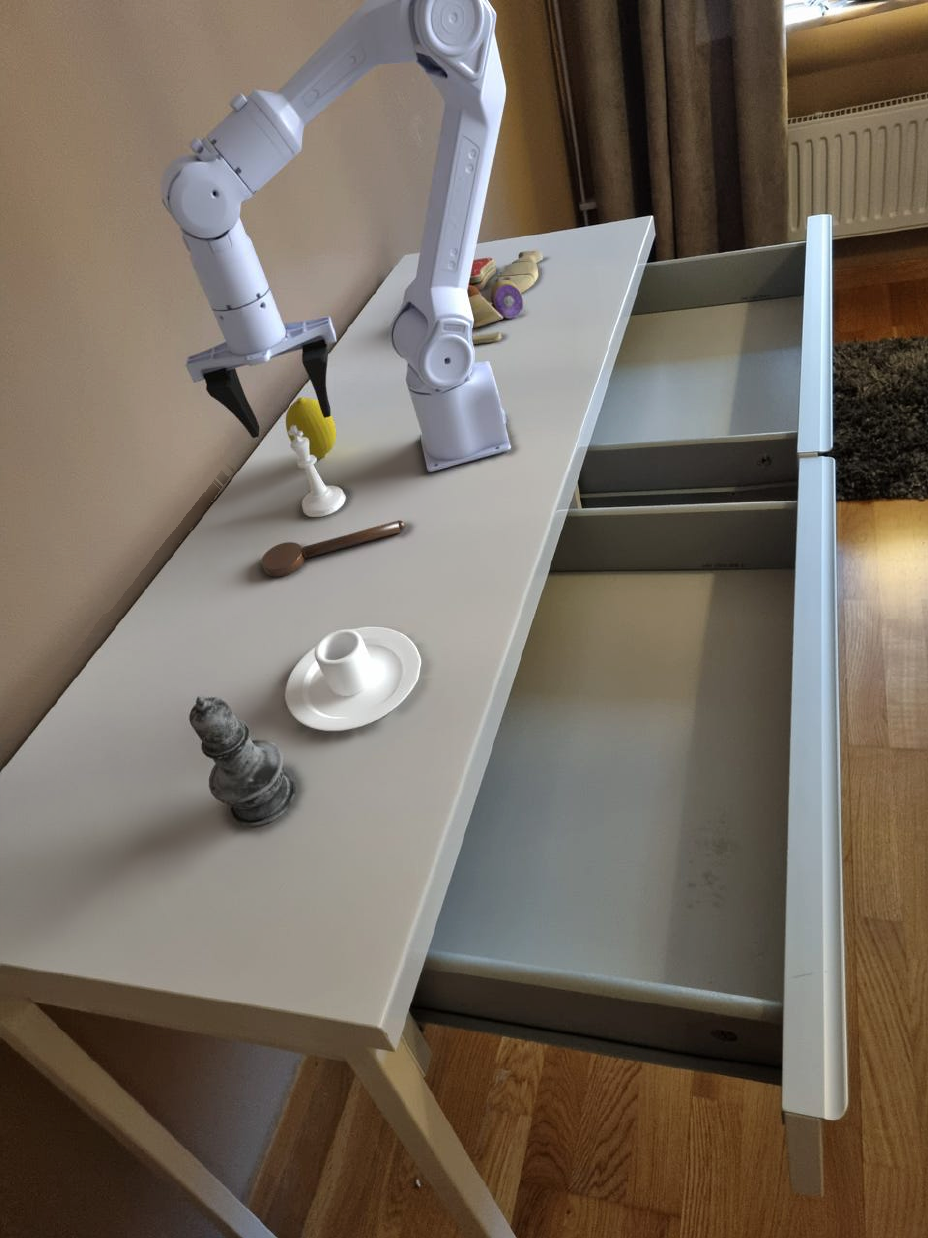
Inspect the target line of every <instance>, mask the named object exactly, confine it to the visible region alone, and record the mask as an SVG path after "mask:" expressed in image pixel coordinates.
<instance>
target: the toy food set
mask: <svg viewBox="0 0 928 1238" xmlns="http://www.w3.org/2000/svg"><path fill="white" fill-rule="evenodd" d="M543 259H544V258H543V253H542V251H540V250H528V251H527V250H526V251H520V252H519V253H518V258H517V259H516V260H514V261H513V262H511V263H510V264H509V265H507V267H505V268H504V269H503V270H502V271H501V272H500V273H499V274H498V276H497V277H496V279H495V282H494V284H493V285H492V286H491V289H490V292H489V299H490V302H489V301H488V300H487V299H486V298H485V297H484V296H483V295H482V294H481V292H480V291H482V290H483V289H485V287H486V284H487V282H489V280H490V279H491V278H492V277H493V276H495V274H496V273H497V268H496V264H495V263H496V262H495V258H494V257H481V258H476V259H473V264H472V269H471V274H470V279H469V284H468V289H467V294H468V298H469V302H470V306H471V310H472V314H473V319H474V322H473V327H472V329H476V328H480V327H483V326H486V325H489V324H492V323H494V322H498V321H501V320H503V319H504V318H506V319H515V318H517V317H518V316H519V315H520V314H521V313H522V311H523V308H524V304H525V303H524V302H525V301H524V297H523V294H522V293H524V292H526V291H527V290H528V289H530V288H531V287H532V286H533V285H534V284H535V283H536V282H537V280H538V278H539V268H538V264H537V263H540V262H541V261H542V260H543ZM501 339H502V333H501V332H498V331H496V332H487V333H481V334H475V335H472V343H473V345H478V344H487V343H495V342H498V341H500V340H501Z"/></svg>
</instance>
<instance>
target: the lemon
mask: <svg viewBox="0 0 928 1238" xmlns="http://www.w3.org/2000/svg"><path fill="white" fill-rule="evenodd" d="M286 411H287V412H286V414H285V428H286V432H287V435H288V438H289V440H290V443H291V442H292V441H293V440H294V439H295V438H294V436H292V435H289V434H288V431H289V430H290V426H292V425H296V428H297V430H299V431H302V432H303V435H302V436H301V437H306V438H308V440H309V450H310V455H314V456H315V457H316V458H317V459H324V458H326V455H327V454H329V453H330V451H332V449H333V448H334V446H335V444H336V440H337V428H336V424H335V421H334V418H333V416H332V415H331V416H330V417H326V418H324V416H323V414H322V412H321V409H320V406H319V402H318V399H316V398H315V399H314V398H309V397H305V398H303V397H298V398H297V399H296V400H295V401H294V402H293V403H292V404H291V405H290V406H289V408H288V409H287V410H286Z"/></svg>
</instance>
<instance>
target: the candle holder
mask: <svg viewBox="0 0 928 1238" xmlns="http://www.w3.org/2000/svg"><path fill="white" fill-rule="evenodd" d="M421 665H422V658H421V656H420V653H419V651H418V648H417V646H416V645H415V644H414V642H413V641H412V640H411V639H410V638H409V637H408V636H406V635H405V634H403V633H402V632H400V631H398V630H394V629H392V628H388V627H382V626H363V627H357V628H350V629H338V630H335V631H333V632H330V633H328V634H326V635H325V636H324V637H322V638H321V639H320V640H319V641H318V642H317V644H316V645H314V647H312V648H311V649H310V650H309V651H307V653H305V654H304V655H303V656H302V657H301V658H300V660H299V661H298V662H297V663H296V665H295V666H294V667H293V669H292V670H291V673H290V674H289V676H288V679H287V682H286V685H285V695H284V696H285V703H286V707H287V709H288V710H289V713H290V714H291V715H292V717H293V718H295V719H296V721H298V722H299V723H300V724H302V725H304V726H306V727H308V728H311V729H313V730H318V731H324V732H340V731H348V730H353V729H356V728H357V729H358V728H360V727H363V726H366V725H369V724H371V723H373V722H375V721H377V720H379V719H382V718H384V716H386V715H388V714H389V713H390V712H391V711H392V712H393V710H395V709H396V708H397V707H398V706H399V705H400V704H401V703H402V702H404V700H405V699H406V698H407V696H408V695H409V694H410V693H411V692H412V690H413V688H414V687H415V685H416V683H418V680H419V676H420V669H421Z"/></svg>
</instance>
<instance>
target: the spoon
mask: <svg viewBox="0 0 928 1238" xmlns="http://www.w3.org/2000/svg"><path fill="white" fill-rule="evenodd" d="M405 529H406V523H405V522H404V521H403V520H400V519H399V520H395V521H392V522H388V523H384V524H380V525H377V526H373V527H369V528H366V529H363V530H359V531H354V532H352V533H348V534H345V535H344V534H343V535H341V536H337V537H334V538H329V539H326V540H322V541H319V542H315V543H312V544H308V545H305V546H303V547H302V545H301V544H299V543H297V542H293V541H286V542H282V543H279V544H276V545H274V546H273V547H271V548H270V549H268V550H267V551H266V552H265V553H264V555H263V556H262V558H261V566H262V568H263V570H264V572H265V573H266V574H267V575H268V576H271V577H274V578H281V577H285V576H288V575H290V574H293V573H294V572H296V571H297V570H298V569H300V568H301V567H302V566H303V564H304V563H305V560H306V559H308V558H312V557H316V556H319V555H323V554H326V553H330V552H334V551H337V550H341V549H344V548H348V547H353V546H355V545H356V546H357V545H359V544H362V543H366V542H370V541H373V540H377V539H380V538H384V537H387V536H391V535H395V534H399V533H402V532H404V531H405Z"/></svg>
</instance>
